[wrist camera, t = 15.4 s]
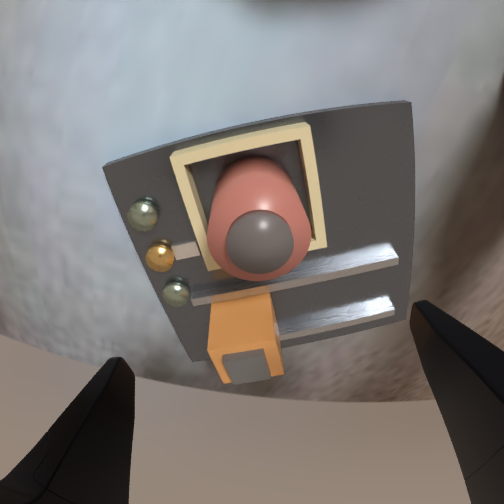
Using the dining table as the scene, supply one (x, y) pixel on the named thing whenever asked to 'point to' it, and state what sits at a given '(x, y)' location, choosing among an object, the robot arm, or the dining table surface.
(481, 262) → the dining table surface
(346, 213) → the panel
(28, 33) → the dining table surface
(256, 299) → the toggle
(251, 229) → the salmon cylinder
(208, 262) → the socket
